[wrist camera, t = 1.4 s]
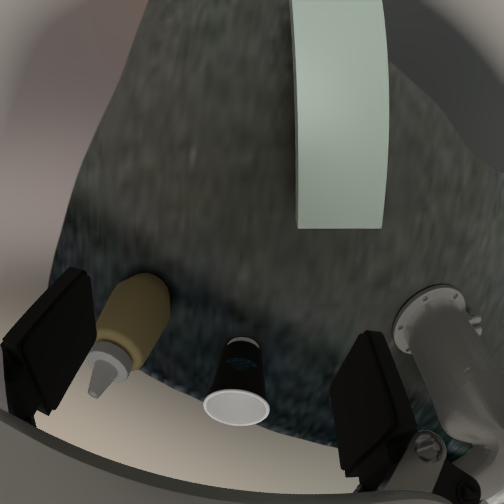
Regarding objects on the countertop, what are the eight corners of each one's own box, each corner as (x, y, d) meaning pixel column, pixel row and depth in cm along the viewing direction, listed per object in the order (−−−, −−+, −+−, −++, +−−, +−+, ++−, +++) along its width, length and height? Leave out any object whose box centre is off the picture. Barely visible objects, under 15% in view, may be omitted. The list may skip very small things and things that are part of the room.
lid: (372, 4, 17) (381, -4, 15) (372, 218, 26) (381, 228, 24) (288, -4, 18) (290, -14, 16) (295, 218, 27) (297, 228, 24)
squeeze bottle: (187, 309, 40) (148, 421, 24) (138, 318, 41) (88, 416, 25) (163, 258, 37) (100, 363, 21) (113, 271, 38) (42, 364, 22)
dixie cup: (254, 321, 40) (249, 384, 30) (279, 357, 43) (280, 418, 33) (205, 339, 42) (190, 399, 32) (233, 372, 45) (225, 430, 35)
